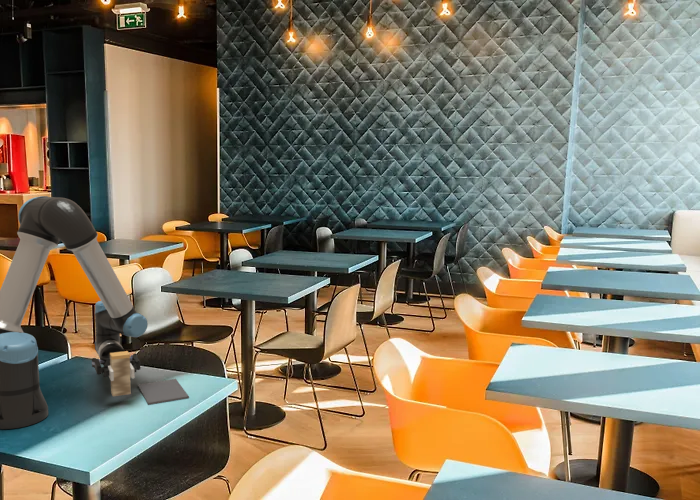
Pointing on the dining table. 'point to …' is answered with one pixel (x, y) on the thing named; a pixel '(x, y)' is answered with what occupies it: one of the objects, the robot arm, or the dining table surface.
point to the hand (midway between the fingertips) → (122, 375)
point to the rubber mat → (162, 391)
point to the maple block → (120, 373)
